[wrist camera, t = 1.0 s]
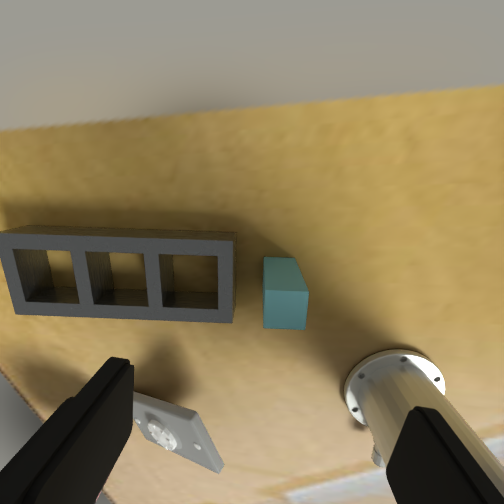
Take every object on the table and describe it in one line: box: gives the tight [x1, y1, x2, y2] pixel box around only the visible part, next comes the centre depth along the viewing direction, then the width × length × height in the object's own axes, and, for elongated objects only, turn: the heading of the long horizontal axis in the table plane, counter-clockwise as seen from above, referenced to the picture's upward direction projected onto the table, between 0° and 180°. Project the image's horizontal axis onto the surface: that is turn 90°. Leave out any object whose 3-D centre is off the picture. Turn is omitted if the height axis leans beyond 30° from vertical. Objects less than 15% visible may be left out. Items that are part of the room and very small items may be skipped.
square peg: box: [262, 257, 309, 330], centre depth 26 cm, size 4×4×9 cm
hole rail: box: [0, 225, 236, 323], centre depth 29 cm, size 9×24×4 cm, turn 88°
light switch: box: [133, 391, 224, 474], centre depth 34 cm, size 8×6×14 cm
